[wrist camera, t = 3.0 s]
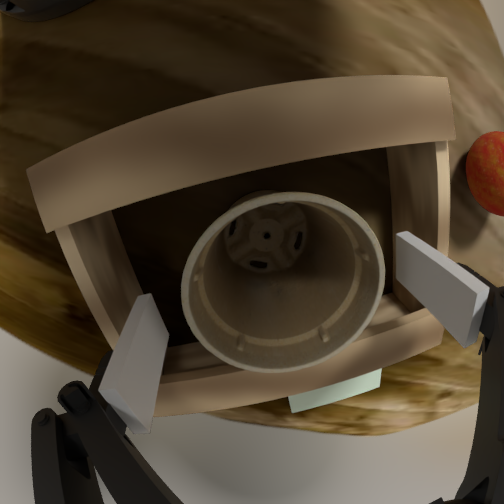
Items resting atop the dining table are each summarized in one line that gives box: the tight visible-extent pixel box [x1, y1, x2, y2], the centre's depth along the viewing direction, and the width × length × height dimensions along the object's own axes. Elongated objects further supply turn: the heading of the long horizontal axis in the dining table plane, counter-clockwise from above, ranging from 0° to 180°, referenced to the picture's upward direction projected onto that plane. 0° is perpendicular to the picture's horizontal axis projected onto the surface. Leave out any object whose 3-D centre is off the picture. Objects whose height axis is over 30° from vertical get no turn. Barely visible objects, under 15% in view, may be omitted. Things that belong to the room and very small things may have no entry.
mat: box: [288, 368, 382, 413], centre depth 26 cm, size 10×10×1 cm
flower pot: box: [181, 190, 385, 373], centre depth 17 cm, size 9×9×9 cm
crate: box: [26, 75, 456, 417], centre depth 18 cm, size 18×22×7 cm
